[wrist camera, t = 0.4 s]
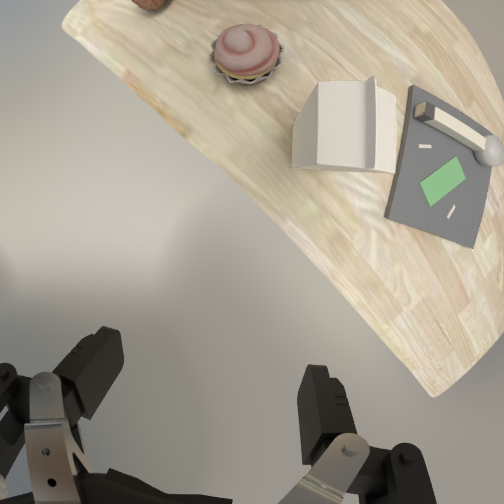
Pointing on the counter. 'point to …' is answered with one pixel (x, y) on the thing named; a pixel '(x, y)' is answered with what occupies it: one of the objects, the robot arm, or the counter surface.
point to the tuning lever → (463, 134)
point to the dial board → (438, 177)
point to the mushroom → (149, 4)
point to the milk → (346, 128)
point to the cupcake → (246, 53)
